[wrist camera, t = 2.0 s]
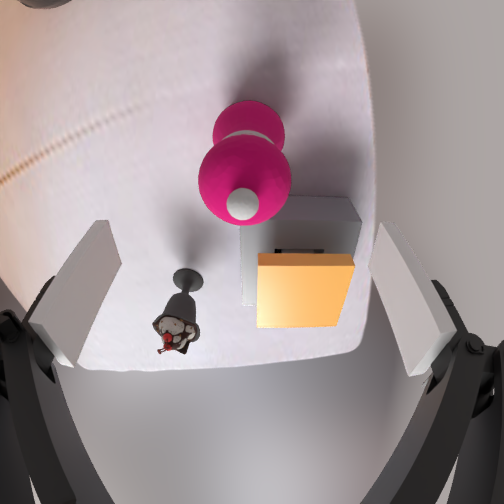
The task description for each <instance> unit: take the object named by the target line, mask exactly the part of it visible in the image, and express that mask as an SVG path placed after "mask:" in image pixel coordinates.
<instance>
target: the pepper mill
mask: <svg viewBox="0 0 504 504" xmlns="http://www.w3.org/2000/svg"><path fill="white" fill-rule="evenodd" d="M284 140H285V133H284V127H283V123H282V121H281V119H280V117H279V116H278V114H277V113H276V112H275V111H274V110H273V109H271V108H270V107H268V106H267V105H265V104H262V103H260V102H257V101H242V102H238V103H235V104H233V105H231V106H229V107H228V108H226V109H225V110H224V111H223V112H222V113H221V114H220V115H219V117H218V118H217V120H216V122H215V125H214V129H213V144H214V146H213V147H212V148H211V149H210V151H209V152H208V153H207V154H206V156H205V157H204V159H203V161H202V164H201V167H200V170H199V175H198V184H199V191H200V194H201V197H202V199H203V201H204V203H205V204H206V206H207V208H208V209H209V210H210V211H211V212H212V213H213V214H214V215H216V216H217V217H218V218H220V219H222V220H224V221H226V222H228V223H231V224H234V225H240V226H251V225H255V224H259V223H262V222H264V221H266V220H268V219H270V218H271V217H273V216H274V215H275V214H276V213H277V212H278V211H279V210H280V209H281V208H282V207H283V205H284V204H285V202H286V200H287V198H288V195H289V192H290V188H291V172H290V167H289V164H288V162H287V160H286V158H285V156H284V154H283V153H282V152H281V150H282V148H283V145H284Z"/></svg>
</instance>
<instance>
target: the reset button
mask: <svg viewBox="0 0 504 504" xmlns="http://www.w3.org/2000/svg"><path fill="white" fill-rule="evenodd" d="M354 268H355V264H354V262H353V259H352V257H351V254H315V253H314V249H282V250H281V253H258V277H257V328H292V327H327V326H336V325H337V322H338V319H339V316H340V313H341V310H342V307H343V304H344V301H345V298H346V295H347V291H348V288H349V285H350V282H351V278H352V275H353V271H354Z"/></svg>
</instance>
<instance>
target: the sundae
mask: <svg viewBox="0 0 504 504" xmlns="http://www.w3.org/2000/svg"><path fill="white" fill-rule="evenodd" d="M173 281H174V283H175V285H176V286H177V287H178V288H180V289H181V290H182V292H181V293H177V294H174V295H173V296H172V297H171V298H170V300H169V301H168V303H167V305H166V307H165V310H164V312H163V314H162V315H160V316H159V317H157V318H156V320H155V321H154V322H153V323H152V325H153V328H154V330H155V331H156V332H157V333H158V334H159V335H160V336H161V337H162V342H163V344H164V348H163V349H165V350H164V351H166V350H167V351H170V350H176V351H178V352H180V353H182V354H186V352H187V349H188V346H189V343H190V342H194V341H196V340H198V338H199V336H200V329H199V326H198V325H197V324H196V305H195V301H194V299H193V298H192V297H191V296H190V295H188V294H189V292H194V291H197V290H199V289H200V288H201V287H202V285H203V279H202V277H201V276H200V275H199V274H198V273H197V272H195V271H193V270H189V269H182V270H179V271H177V272H176V273H175V274H174V276H173ZM163 349H158V350H157V351H158V353H159V354H161V352H164V351H161V352H160V350H163Z"/></svg>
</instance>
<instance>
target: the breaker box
mask: <svg viewBox="0 0 504 504" xmlns="http://www.w3.org/2000/svg"><path fill="white" fill-rule="evenodd" d="M361 225H362V221H361V219H360V217H359V215H358V213H357V211H356V210H355V208H354V206H353V204H352V203H351V201H350V199H349V198H344V197H323V196H293V195H288V198H287V200H286V202H285V204H284V205H283V207H282V208H281V209H280V210H279V211H278V212H277V213H276V214H275V215H274V216H273V217H271V218H270V219H268V220H266V221H264V222H262V223H259V224H255V225H251V226H240V250H241V282H242V306H257V277H258V253H274V251H275V249H314V253H315V254H351V257H352V259H353V257H354V253H355V249H356V245H357V242H358V238H359V233H360V229H361Z"/></svg>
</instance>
